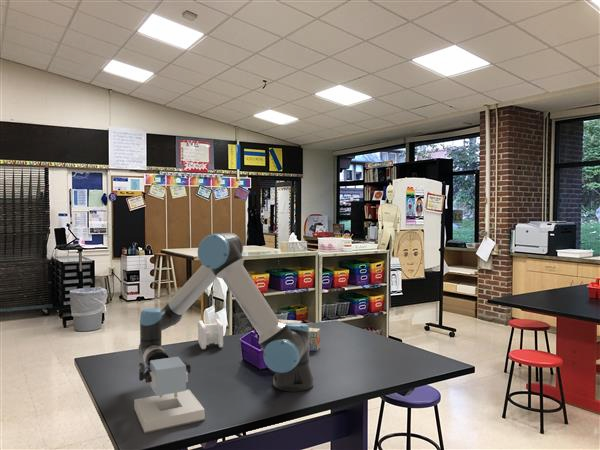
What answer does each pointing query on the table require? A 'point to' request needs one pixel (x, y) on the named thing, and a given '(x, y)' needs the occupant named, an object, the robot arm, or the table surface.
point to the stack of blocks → (313, 335)
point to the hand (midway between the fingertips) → (171, 380)
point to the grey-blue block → (168, 376)
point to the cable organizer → (210, 333)
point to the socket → (168, 411)
